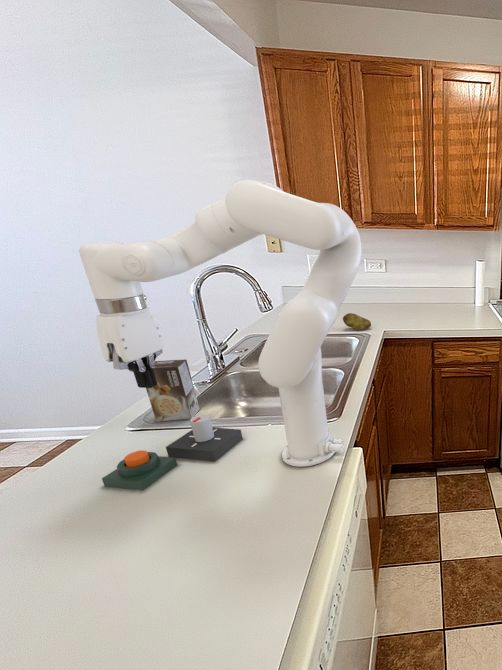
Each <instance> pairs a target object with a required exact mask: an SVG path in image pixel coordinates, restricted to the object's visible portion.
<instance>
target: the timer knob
mask: <svg viewBox="0 0 502 670" xmlns="http://www.w3.org/2000/svg"><path fill="white" fill-rule="evenodd" d="M189 423H190V426H191V430H193V434H194V438H195V441H197V442H204V441H208V440H210V439H212V438H213V437H214V432H213V428H212V427H213V424H212V420H211V416H210V415H209V414H198V415H195V416H194V417H193V418H191V419H189Z"/></svg>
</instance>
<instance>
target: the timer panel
mask: <svg viewBox="0 0 502 670" xmlns="http://www.w3.org/2000/svg"><path fill="white" fill-rule="evenodd" d="M212 428H213V432H214V437H213V438H212V439H210V440H208V441H204V442H197V441H195V438H194V434H193V430H192V429H191V430H189V431H188V432H186V433H185V434H184V435H181V436H180V437H179V438H177V439H176V440H174V441H173V442H171V443H170V444H168V445H167V446H165V449H166V453H167V457H173V458H175V459H180V460H181V459H182V460H192V461H194V460H195V461H202V462H203V461H204V462H213V463H214V462H217V461H218V460H219V459H221V458H222V457H223V456H225V455H226V454H227V453H228V452H229V451H230V450H232V449H233V448H235V446H237V445H238V444H239V443H240V442H242V441H243V433H242V429H238V428H237V429H236V428H227V427H216V426H215V427H214V426H212Z"/></svg>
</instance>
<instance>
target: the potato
mask: <svg viewBox="0 0 502 670" xmlns="http://www.w3.org/2000/svg"><path fill="white" fill-rule="evenodd" d="M342 321H343V323H344V324H345V326H347V327H348V328H351V329H353V330H357V331H362V330H368V329H369V328H371V326H372V321H370V320H369V319H368V318H365V317H363V316H360V315H358V314H356V313H352V312H351V313H350V312H349V313H346V314H345V315H343V317H342Z"/></svg>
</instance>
